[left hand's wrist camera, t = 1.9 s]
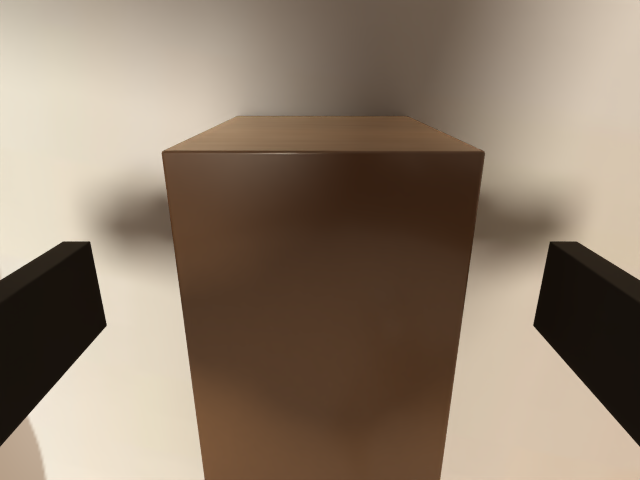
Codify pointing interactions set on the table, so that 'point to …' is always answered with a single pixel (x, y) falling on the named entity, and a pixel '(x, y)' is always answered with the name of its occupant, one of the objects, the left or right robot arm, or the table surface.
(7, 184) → the table surface
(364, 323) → the box
